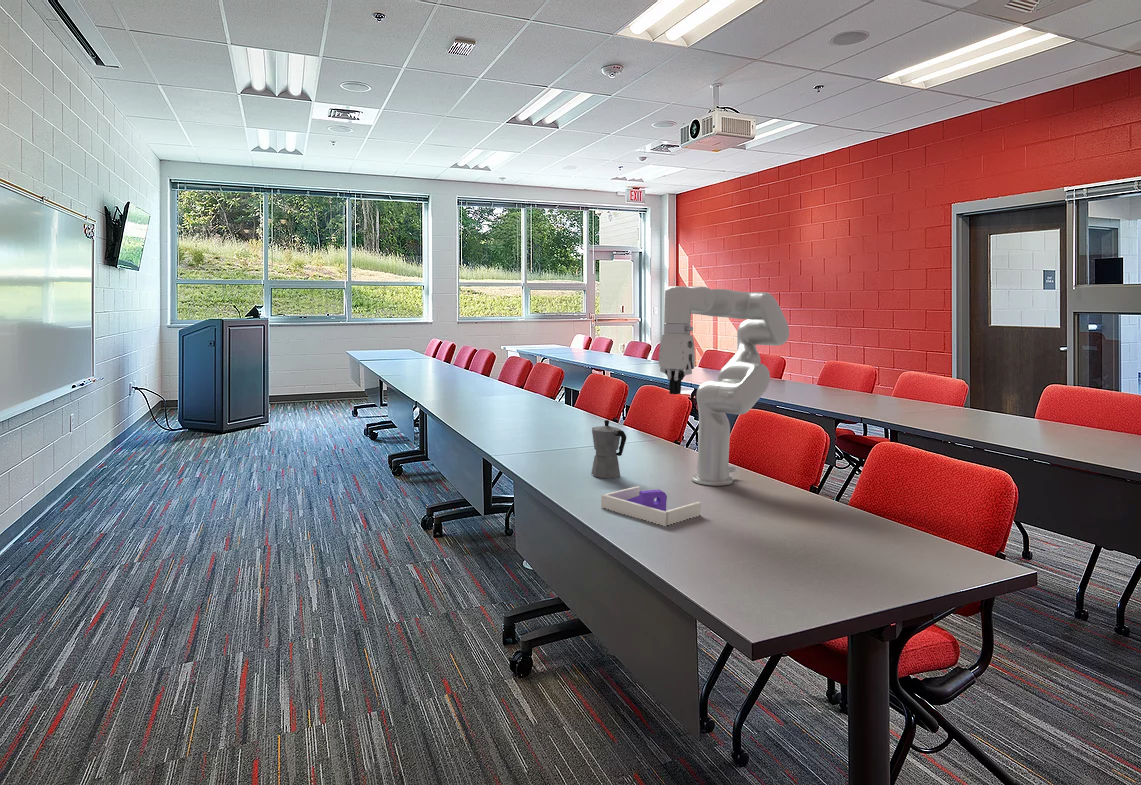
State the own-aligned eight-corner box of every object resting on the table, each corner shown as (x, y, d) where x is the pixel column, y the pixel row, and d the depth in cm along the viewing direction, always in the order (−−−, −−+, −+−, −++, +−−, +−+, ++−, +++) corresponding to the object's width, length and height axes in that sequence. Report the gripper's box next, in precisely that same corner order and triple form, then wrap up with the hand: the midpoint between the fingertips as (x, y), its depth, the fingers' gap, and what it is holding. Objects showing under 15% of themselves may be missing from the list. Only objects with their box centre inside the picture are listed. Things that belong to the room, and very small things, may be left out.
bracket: (665, 516, 183) (666, 491, 182) (642, 519, 180) (642, 493, 180) (645, 504, 194) (646, 480, 193) (623, 506, 192) (623, 481, 191)
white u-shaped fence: (637, 498, 199) (637, 486, 198) (700, 515, 183) (700, 502, 183) (601, 507, 189) (601, 494, 189) (664, 526, 173) (665, 512, 173)
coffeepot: (581, 473, 228) (582, 418, 226) (602, 469, 234) (604, 416, 232) (613, 482, 216) (614, 425, 214) (635, 478, 222) (636, 422, 220)
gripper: (706, 330, 198) (704, 395, 200) (664, 329, 209) (663, 390, 211) (690, 331, 193) (687, 397, 195) (648, 329, 203) (646, 392, 206)
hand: (675, 393), depth 203 cm, fingers closed
